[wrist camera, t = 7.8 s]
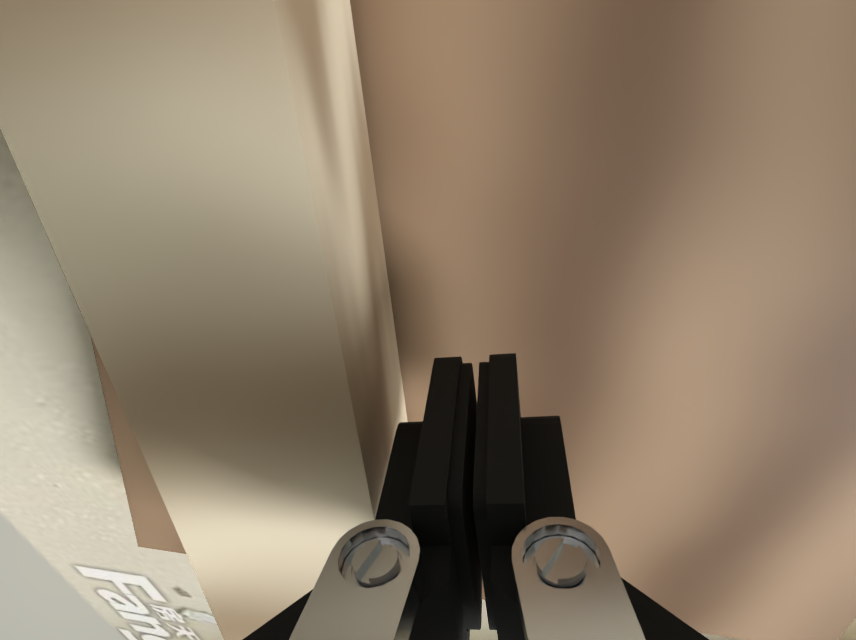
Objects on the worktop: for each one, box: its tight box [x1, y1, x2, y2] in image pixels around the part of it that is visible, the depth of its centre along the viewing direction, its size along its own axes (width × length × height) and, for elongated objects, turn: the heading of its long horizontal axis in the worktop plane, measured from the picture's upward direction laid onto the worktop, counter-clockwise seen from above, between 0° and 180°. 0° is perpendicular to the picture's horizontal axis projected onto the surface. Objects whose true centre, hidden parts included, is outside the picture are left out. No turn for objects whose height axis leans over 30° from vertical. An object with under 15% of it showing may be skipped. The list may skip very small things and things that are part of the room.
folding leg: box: [0, 0, 408, 640], centre depth 11 cm, size 18×4×4 cm, turn 5°
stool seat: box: [91, 0, 856, 640], centre depth 14 cm, size 22×21×2 cm
